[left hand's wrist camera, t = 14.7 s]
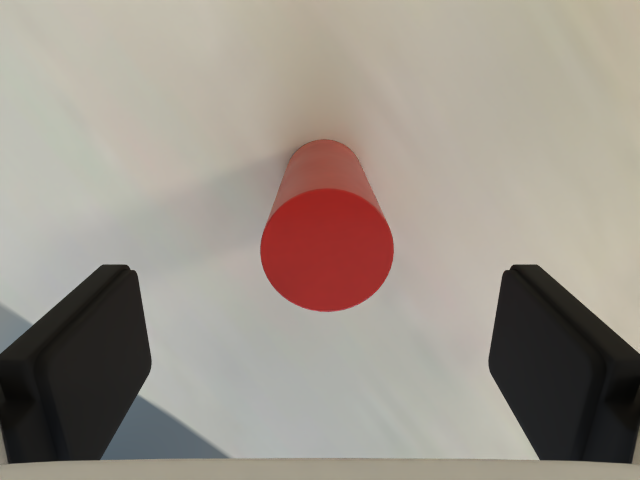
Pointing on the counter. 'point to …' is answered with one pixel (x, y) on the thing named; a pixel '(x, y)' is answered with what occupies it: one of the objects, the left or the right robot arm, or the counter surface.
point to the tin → (326, 231)
